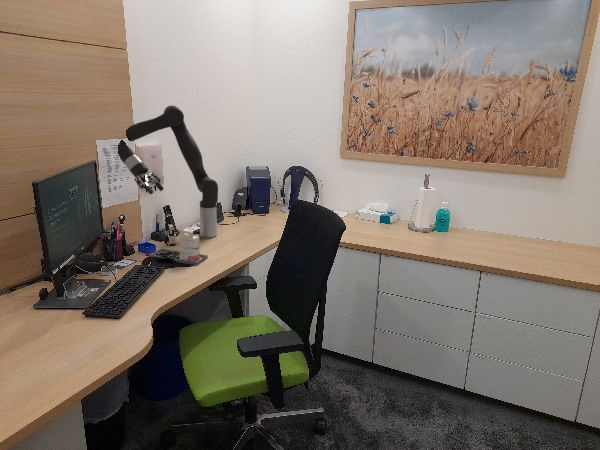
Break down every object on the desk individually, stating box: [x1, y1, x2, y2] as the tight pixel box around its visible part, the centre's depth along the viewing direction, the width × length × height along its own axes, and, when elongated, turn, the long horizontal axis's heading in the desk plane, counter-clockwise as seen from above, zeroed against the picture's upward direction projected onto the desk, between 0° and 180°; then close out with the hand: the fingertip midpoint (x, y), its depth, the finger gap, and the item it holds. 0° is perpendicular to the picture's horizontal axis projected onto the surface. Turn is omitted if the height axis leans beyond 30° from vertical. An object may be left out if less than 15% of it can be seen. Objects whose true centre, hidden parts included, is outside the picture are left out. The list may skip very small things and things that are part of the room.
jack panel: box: [149, 247, 209, 266], centre depth 214 cm, size 10×26×2 cm, turn 74°
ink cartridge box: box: [179, 229, 201, 261], centre depth 210 cm, size 9×5×15 cm, turn 65°
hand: (157, 191), depth 215 cm, fingers open, 8 cm apart
